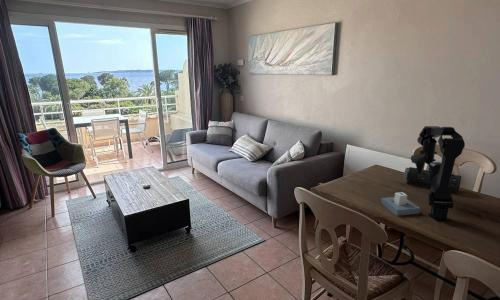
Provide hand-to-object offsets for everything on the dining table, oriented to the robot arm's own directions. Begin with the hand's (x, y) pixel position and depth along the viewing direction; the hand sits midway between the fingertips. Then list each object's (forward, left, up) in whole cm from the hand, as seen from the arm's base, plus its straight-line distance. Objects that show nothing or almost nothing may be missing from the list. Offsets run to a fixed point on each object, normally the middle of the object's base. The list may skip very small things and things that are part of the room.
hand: (424, 176), depth 153 cm
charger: (-10, +20, -12) cm, 25 cm away
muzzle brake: (+12, -14, -12) cm, 22 cm away
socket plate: (-10, +20, -12) cm, 25 cm away
